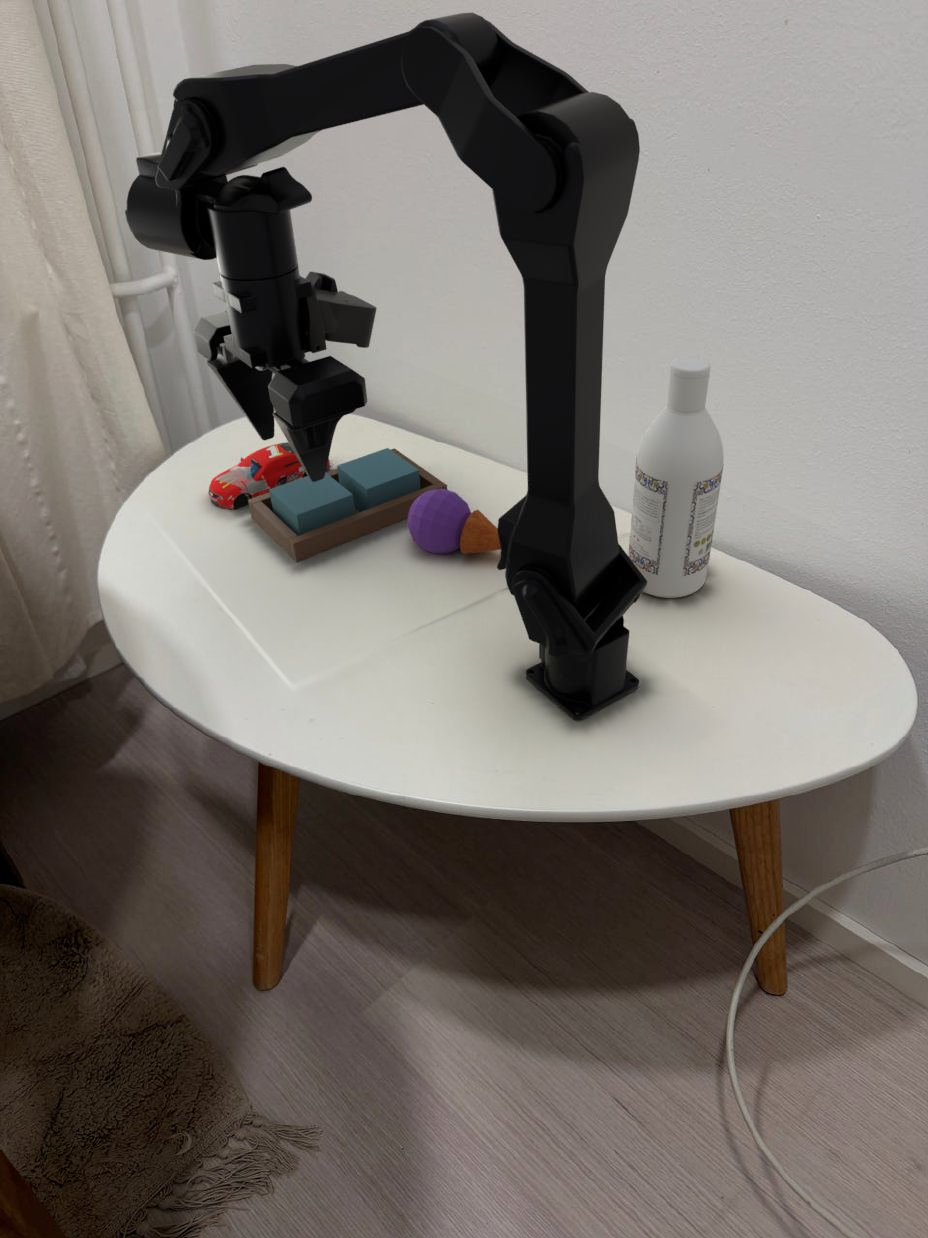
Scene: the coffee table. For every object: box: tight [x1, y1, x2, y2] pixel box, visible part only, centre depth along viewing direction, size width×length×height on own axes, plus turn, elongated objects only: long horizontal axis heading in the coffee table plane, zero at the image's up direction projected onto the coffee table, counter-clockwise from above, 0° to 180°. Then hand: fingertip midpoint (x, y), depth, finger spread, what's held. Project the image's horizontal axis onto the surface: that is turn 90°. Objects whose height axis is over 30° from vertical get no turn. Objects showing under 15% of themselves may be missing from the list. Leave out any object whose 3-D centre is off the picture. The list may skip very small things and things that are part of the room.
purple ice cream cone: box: [406, 489, 501, 555], centre depth 83 cm, size 6×6×20 cm
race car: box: [208, 441, 331, 510], centre depth 96 cm, size 13×5×4 cm, turn 125°
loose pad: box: [269, 472, 355, 536], centre depth 89 cm, size 6×6×4 cm
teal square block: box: [336, 447, 420, 512], centre depth 93 cm, size 6×6×4 cm
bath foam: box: [627, 355, 725, 599], centre depth 76 cm, size 7×7×20 cm
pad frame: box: [248, 448, 448, 563], centre depth 92 cm, size 10×17×3 cm, turn 125°
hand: (291, 458), depth 77 cm, fingers open, 9 cm apart
